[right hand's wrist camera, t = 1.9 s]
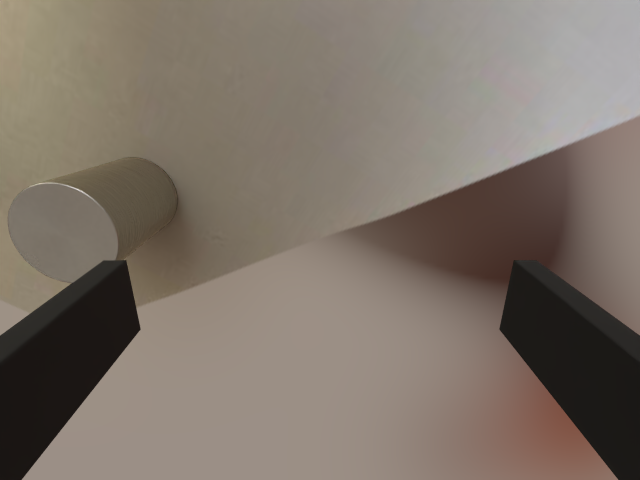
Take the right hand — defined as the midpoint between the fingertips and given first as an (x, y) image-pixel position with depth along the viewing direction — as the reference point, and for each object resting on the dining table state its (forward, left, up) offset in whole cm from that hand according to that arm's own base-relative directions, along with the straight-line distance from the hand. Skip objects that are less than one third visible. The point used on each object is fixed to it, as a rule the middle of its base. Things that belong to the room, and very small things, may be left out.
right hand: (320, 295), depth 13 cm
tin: (-6, -14, -19) cm, 25 cm away
